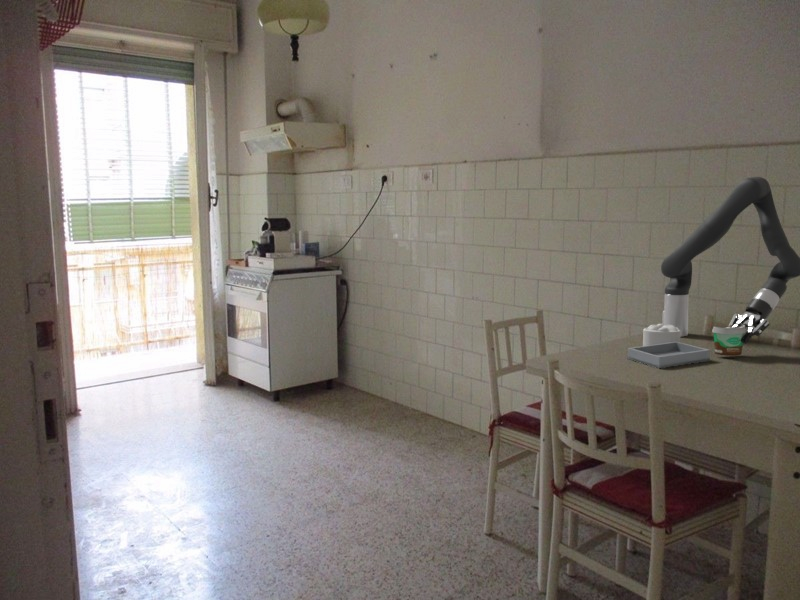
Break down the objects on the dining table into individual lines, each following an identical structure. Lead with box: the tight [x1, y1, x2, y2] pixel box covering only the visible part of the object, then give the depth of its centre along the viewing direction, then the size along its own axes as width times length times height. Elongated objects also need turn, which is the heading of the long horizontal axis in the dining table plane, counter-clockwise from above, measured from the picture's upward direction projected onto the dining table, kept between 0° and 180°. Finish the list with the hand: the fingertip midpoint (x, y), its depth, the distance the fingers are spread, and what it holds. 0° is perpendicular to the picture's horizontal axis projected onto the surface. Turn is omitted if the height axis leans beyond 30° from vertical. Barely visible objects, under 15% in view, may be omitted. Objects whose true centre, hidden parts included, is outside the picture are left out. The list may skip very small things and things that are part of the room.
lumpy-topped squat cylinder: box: [642, 323, 681, 346], centre depth 256 cm, size 10×13×9 cm
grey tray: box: [627, 341, 711, 369], centre depth 237 cm, size 16×22×4 cm
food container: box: [711, 323, 748, 357], centre depth 236 cm, size 12×6×10 cm, turn 102°
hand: (736, 340), depth 237 cm, fingers closed on food container, 5 cm apart
